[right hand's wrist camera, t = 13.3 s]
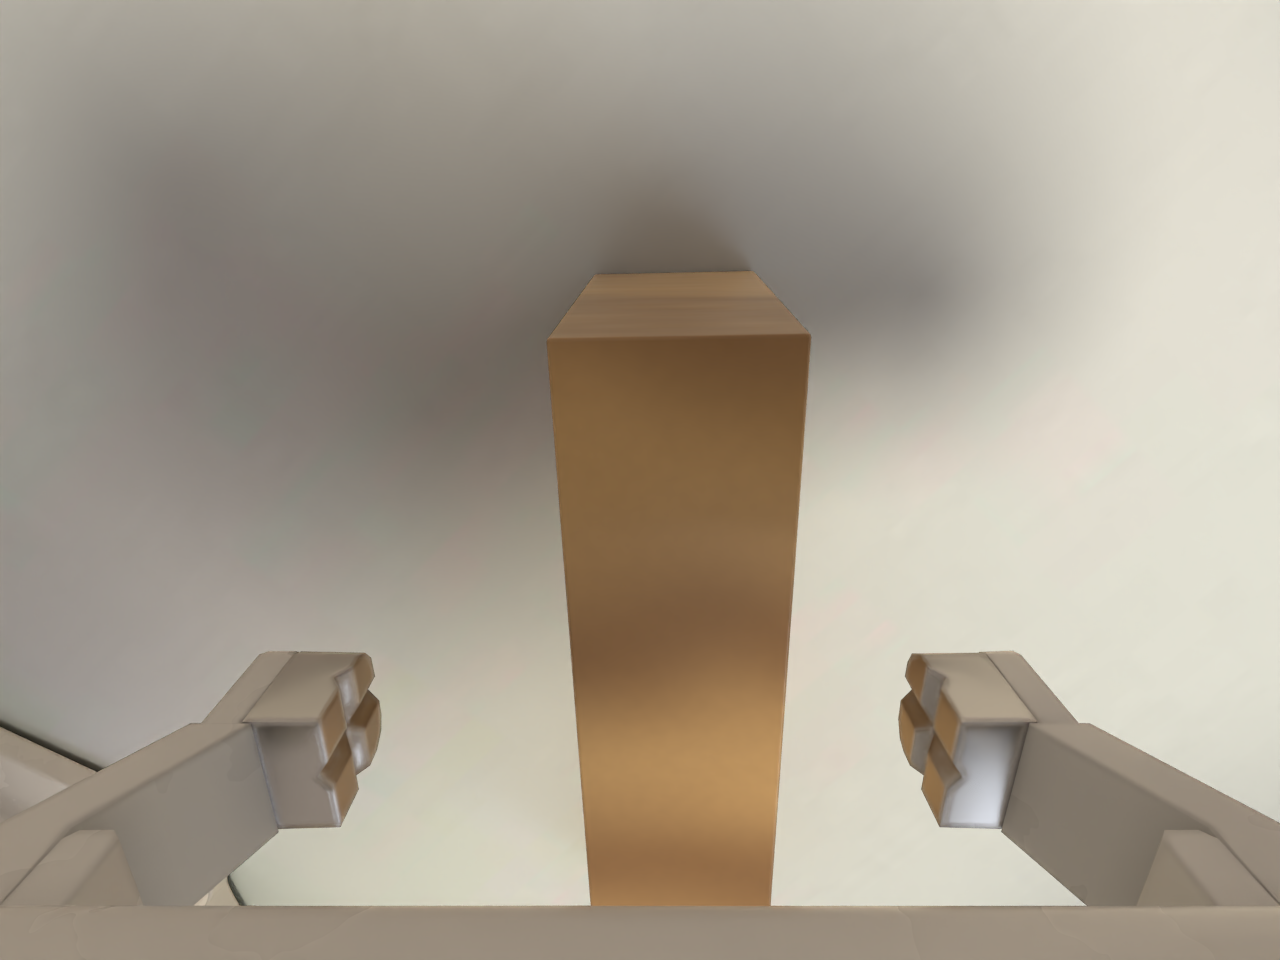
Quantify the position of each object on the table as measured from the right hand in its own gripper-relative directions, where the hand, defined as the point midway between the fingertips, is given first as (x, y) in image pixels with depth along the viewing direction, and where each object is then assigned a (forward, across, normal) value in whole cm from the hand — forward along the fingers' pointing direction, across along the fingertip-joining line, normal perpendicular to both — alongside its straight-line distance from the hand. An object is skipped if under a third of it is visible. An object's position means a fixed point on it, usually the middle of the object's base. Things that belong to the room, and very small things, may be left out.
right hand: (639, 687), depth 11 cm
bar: (+12, +1, -7) cm, 14 cm away
